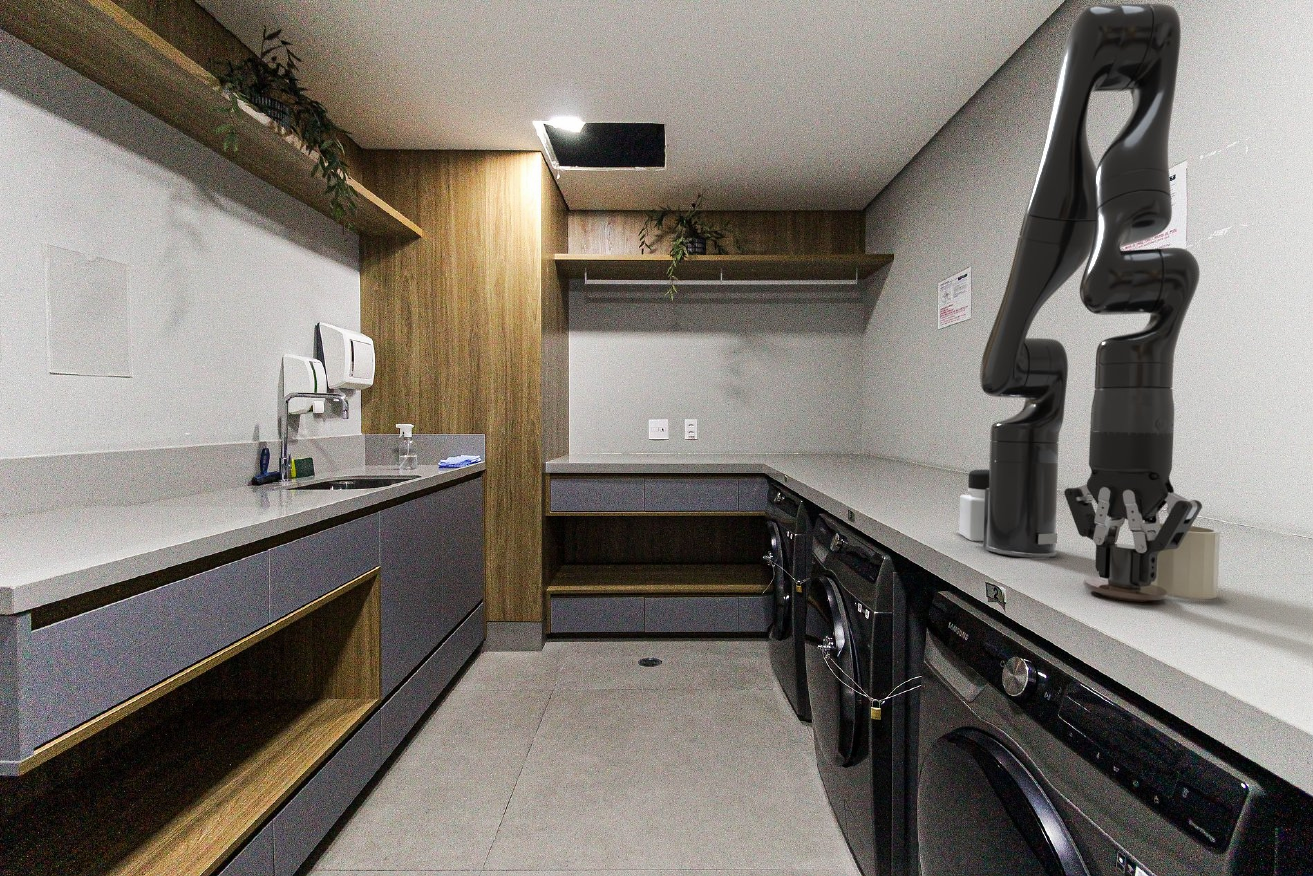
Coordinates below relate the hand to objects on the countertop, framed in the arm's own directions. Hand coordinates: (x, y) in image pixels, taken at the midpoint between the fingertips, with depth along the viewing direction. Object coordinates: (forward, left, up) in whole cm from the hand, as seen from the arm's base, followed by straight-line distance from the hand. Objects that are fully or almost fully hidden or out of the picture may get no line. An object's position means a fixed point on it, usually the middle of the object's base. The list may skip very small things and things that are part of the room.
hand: (1124, 580), depth 72 cm
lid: (0, 0, -1) cm, 1 cm away
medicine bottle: (-38, +11, -3) cm, 39 cm away
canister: (-2, +9, -2) cm, 10 cm away
